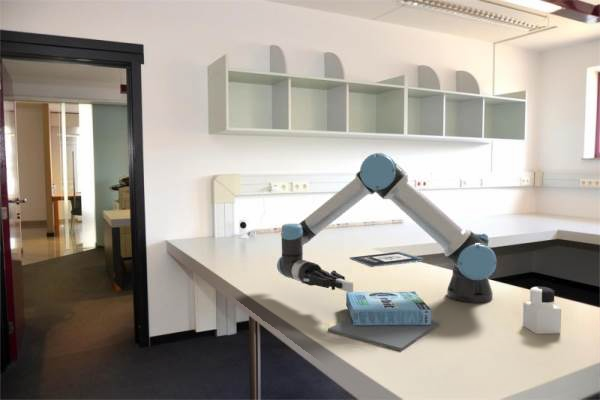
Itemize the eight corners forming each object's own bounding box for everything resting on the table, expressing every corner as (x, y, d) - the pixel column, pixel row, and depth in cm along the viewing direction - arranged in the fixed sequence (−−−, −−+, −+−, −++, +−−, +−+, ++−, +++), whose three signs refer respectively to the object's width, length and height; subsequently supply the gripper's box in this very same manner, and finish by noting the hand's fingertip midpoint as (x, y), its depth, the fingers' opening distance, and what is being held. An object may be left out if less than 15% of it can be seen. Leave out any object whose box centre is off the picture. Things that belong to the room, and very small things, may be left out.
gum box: (352, 325, 131) (431, 326, 130) (352, 308, 130) (431, 308, 130) (346, 305, 150) (415, 306, 150) (346, 290, 150) (415, 290, 149)
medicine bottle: (546, 324, 132) (547, 284, 131) (561, 333, 125) (562, 291, 124) (522, 325, 132) (523, 285, 131) (535, 334, 125) (537, 291, 124)
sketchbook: (349, 260, 231) (349, 256, 231) (398, 254, 242) (398, 251, 242) (372, 268, 211) (372, 263, 211) (424, 262, 223) (424, 257, 222)
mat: (438, 324, 133) (438, 322, 133) (401, 351, 115) (401, 348, 115) (370, 310, 148) (370, 307, 148) (327, 331, 129) (327, 328, 129)
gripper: (322, 280, 158) (367, 296, 138) (291, 286, 151) (333, 303, 131) (322, 259, 158) (367, 272, 138) (290, 264, 151) (333, 278, 131)
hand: (351, 287), depth 135 cm, fingers closed
